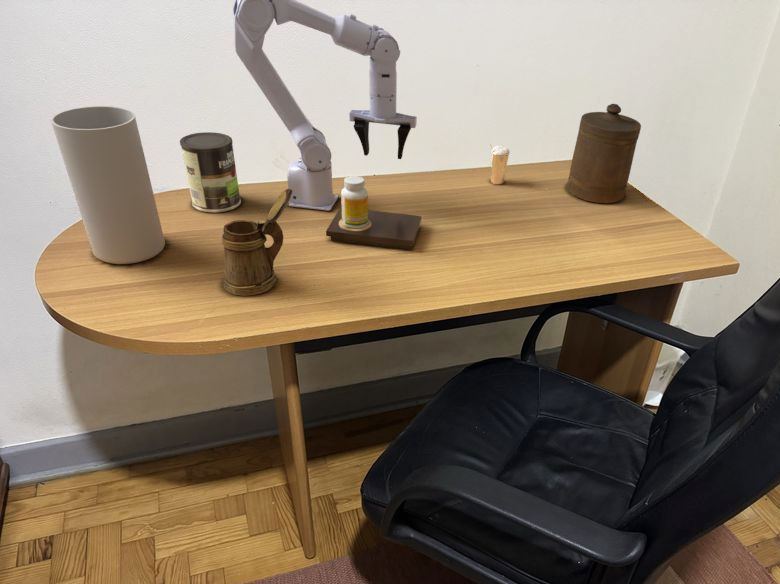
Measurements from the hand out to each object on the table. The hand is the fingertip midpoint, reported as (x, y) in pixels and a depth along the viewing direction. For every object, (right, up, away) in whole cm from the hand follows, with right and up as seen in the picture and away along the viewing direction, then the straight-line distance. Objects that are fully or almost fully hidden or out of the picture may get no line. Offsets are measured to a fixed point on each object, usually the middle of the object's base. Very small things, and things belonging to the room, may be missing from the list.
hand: (383, 155), depth 142 cm
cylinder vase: (-46, -25, -21) cm, 56 cm away
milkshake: (+26, -1, +20) cm, 33 cm away
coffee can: (-37, -11, -2) cm, 39 cm away
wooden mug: (-19, -32, -27) cm, 46 cm away
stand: (-1, -19, -8) cm, 21 cm away
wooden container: (+52, -3, +20) cm, 56 cm away
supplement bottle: (-4, -18, -11) cm, 21 cm away
